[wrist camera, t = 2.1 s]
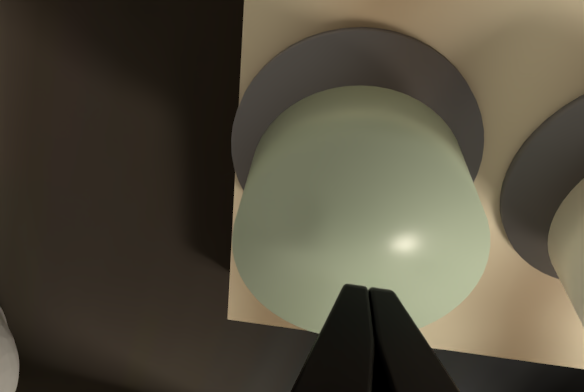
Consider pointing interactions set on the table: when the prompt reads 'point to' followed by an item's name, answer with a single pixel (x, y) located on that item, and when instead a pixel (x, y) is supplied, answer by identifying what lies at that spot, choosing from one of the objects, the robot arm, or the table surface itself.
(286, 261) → the sage button
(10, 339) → the teacup
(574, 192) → the cream button
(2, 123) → the table surface
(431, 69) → the panel
